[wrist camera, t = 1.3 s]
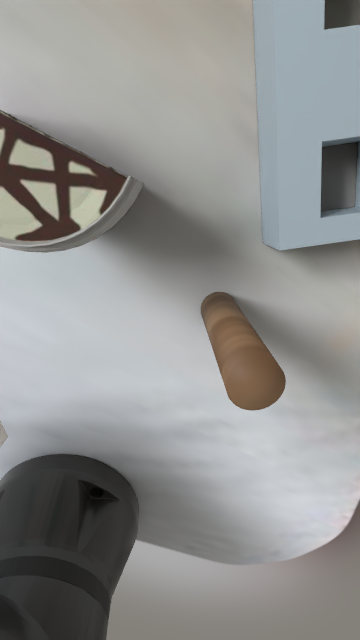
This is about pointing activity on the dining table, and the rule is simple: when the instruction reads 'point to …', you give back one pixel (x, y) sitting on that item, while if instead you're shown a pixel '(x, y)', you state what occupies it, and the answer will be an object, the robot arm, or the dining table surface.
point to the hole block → (303, 119)
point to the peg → (241, 355)
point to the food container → (55, 191)
